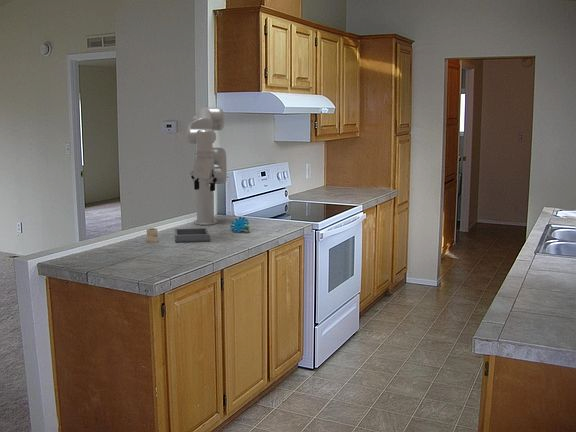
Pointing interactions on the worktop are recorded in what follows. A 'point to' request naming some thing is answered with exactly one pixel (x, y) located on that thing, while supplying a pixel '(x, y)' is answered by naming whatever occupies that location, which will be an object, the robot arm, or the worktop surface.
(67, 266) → the worktop surface
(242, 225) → the gear
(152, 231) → the maple block
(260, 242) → the worktop surface
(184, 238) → the tray
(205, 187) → the robot arm
